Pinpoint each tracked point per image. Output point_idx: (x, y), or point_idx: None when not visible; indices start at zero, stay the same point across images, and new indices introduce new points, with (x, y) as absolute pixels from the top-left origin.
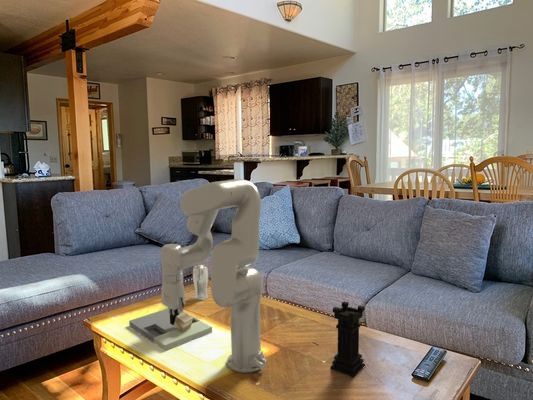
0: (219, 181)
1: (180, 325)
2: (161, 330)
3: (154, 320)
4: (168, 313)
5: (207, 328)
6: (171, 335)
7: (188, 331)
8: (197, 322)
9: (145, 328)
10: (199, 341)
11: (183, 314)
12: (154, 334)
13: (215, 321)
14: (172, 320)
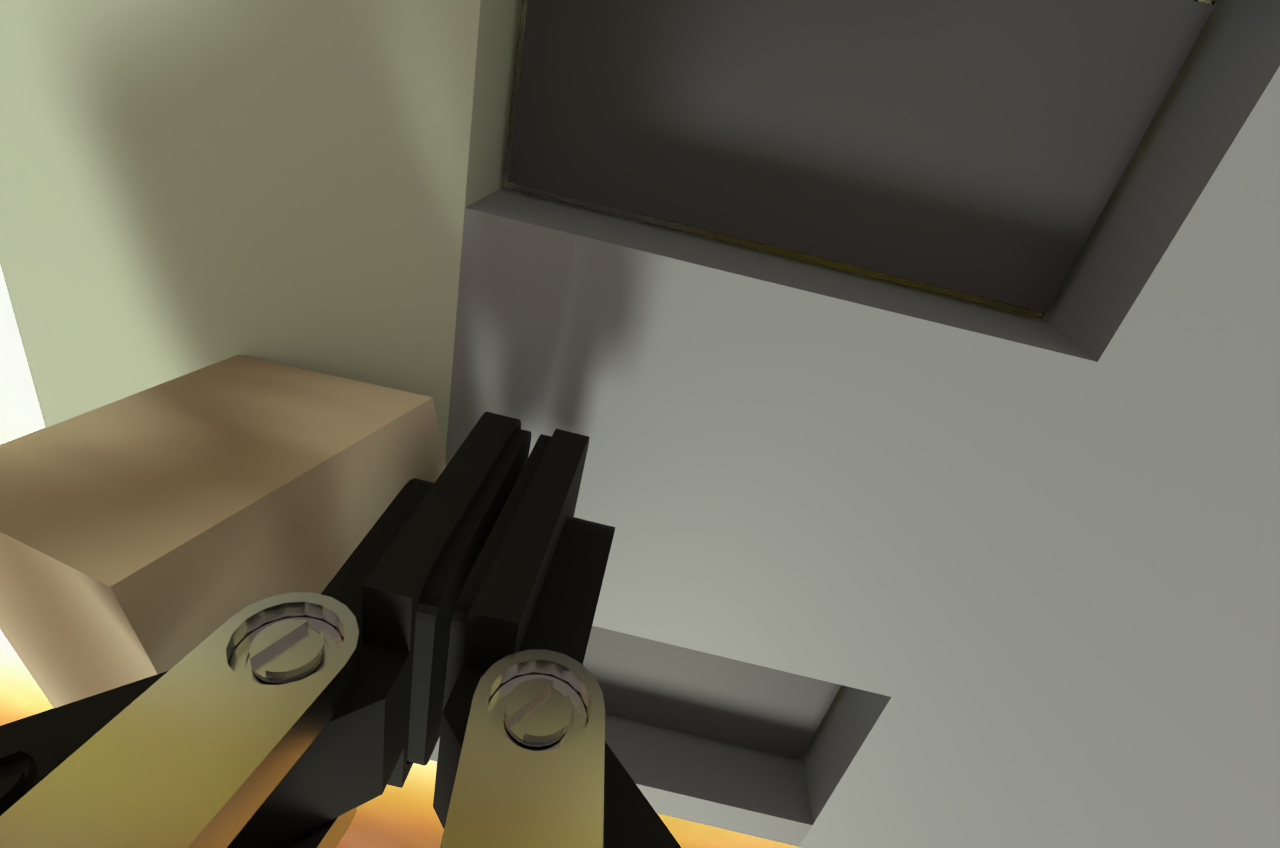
0: None
1: (168, 424)
2: (790, 269)
3: (1231, 474)
4: (1100, 770)
5: None
6: (258, 118)
7: None
8: None
9: (1252, 65)
10: (5, 360)
11: None
12: (841, 65)
13: (398, 808)
14: (439, 481)
